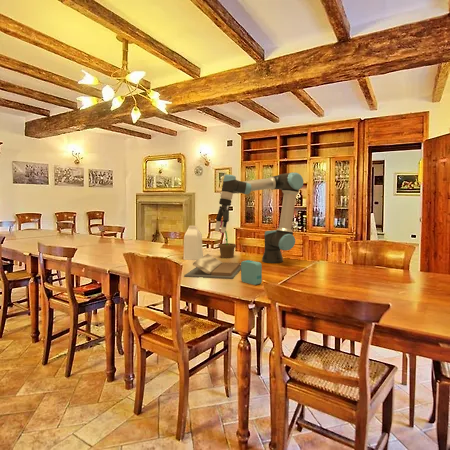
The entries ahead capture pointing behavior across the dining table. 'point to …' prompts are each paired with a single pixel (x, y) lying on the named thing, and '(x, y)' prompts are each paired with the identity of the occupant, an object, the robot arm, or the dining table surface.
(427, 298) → the dining table surface
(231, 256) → the flowerpot
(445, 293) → the dining table surface
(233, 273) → the floor frame
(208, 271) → the plank
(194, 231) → the milk
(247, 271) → the data package
